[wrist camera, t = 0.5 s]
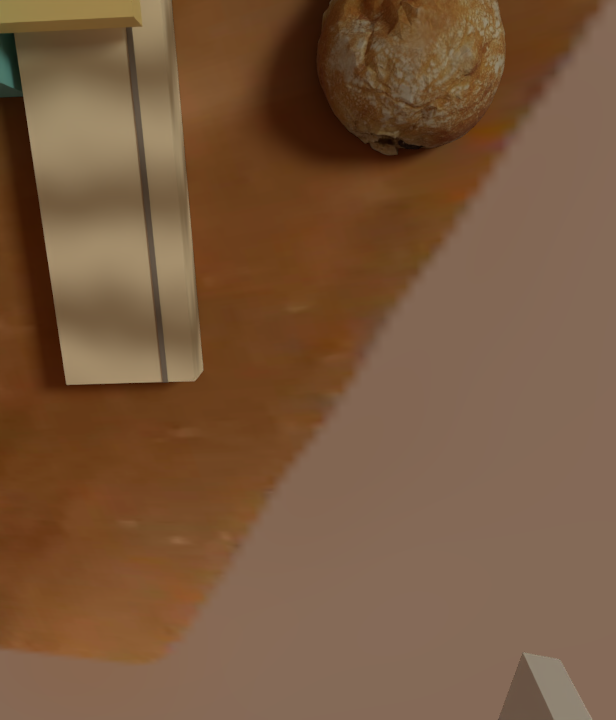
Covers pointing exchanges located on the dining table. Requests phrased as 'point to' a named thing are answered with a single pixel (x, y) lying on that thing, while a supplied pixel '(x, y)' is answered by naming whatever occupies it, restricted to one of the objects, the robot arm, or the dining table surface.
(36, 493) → the dining table surface
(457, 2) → the bread roll
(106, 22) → the teal boxy piece
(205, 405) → the dining table surface
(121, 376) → the plank
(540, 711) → the robot arm
